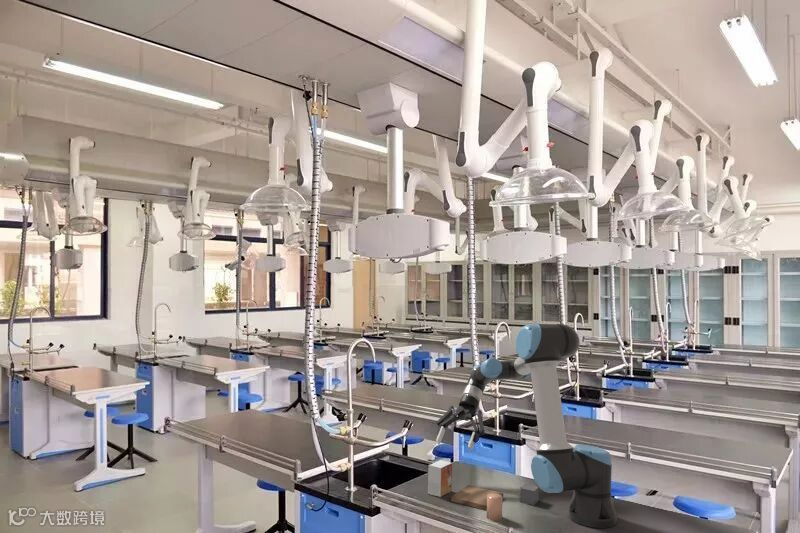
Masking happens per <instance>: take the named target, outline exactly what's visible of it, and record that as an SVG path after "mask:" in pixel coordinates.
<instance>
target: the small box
mask: <svg viewBox="0 0 800 533" xmlns="http://www.w3.org/2000/svg"><path fill="white" fill-rule="evenodd" d="M427 470H428V471H427V472H428V474H427V475H428V476H427V479H428V480H427V493H428V495H431V496H435V497H439V498H442V497H443V496H445V495H446V494H449V493H451V492H452V491H453V483H452V482H453V462H449V461H446V460H442V459H439V460H437V461H436V462H434V463H431V464H428V469H427Z"/></svg>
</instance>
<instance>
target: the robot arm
mask: <svg viewBox="0 0 800 533" xmlns="http://www.w3.org/2000/svg"><path fill="white" fill-rule="evenodd" d="M580 344H581V343H580V337H579V335H578V332H577V331H576V330H575V329H574V328H573V327H571V326H569V325H567V324H564V323H532V324H526V325H523V326H522V327H521V328H520V329H519V330H518V333H517V335H516V338H515V351H516V354H517V357H516V358H515V359H513V360H499V359H497V358H495V357H488V359H486V360H484V361H483V362H482V363H481V364H475V365H474V366H473V368H472V370H471V371H470V374H469V376H468V379H467V380H468V381H467V383H466V385H465V387H464V389H463V392H462V396H461V398H460V400H459V402H458V407H454V406H453V405H451V406H449V408H448V410H447V411H446V412H445V413H444V414H443V415H442V416H441V417H440V418H439V419H438V420H437V421H436V422H435V423H436V426H437V427H438V429H437V432H436V433H437V437H436V439H435V441H436V443H437V445H440V444H441V442H442V440H443V437H444V434H445V432H446V428H448V427H449V426H451V425H452V424H453V423H455V422H457V421H458V422H459V420H460V421H466V422H468V421H470V424H471V425H472V428H473V429H474V431H472V434H471V436H470V439H469V442H468V445H467V448H468V450H469V451H471V452H472V451H473V448H474V446H475V444H476V443H477V442H478V440H479V438H480V435H482V436H484V435H486V432H485V431H486V430H485V427H484V426H485V425H484V420H483V418H484V417H483V416H484V413H483V411H482V410H481V409H479V410H478V408H479V405H480V402H481V400H482V397H483V394H484V392H485V388H486V386H487V385H488V384H489V383H491V382H492V381H503V380H504V381H505V380H523V379H528V378H530V377H531V378H530V379H531V384H532V385H531V386H532V391H533V400H534V401H533V402H534V407H535V416H536V422H537V431H538V436H539V437H538V438H539V445H538V446H537V447H536V449H535V451H536V454H535V455H534V456H533V457H532V459H531V462H530V470H531V474H532V478H533V480H534V482H535V484H536V486H538V487H539V490H542V491H543V492H545V493H548V494H555V493H557V494H560V493H563V492H569V491H573V494H572V496H571V499H570V502H569V505H568V509H567V513H568V514H567V515H568V518H569V519H570V520H571V521H573V522H574V523H577V524H579V525H582V526H584V527H590V528H595V529H596V528H598V529H606V528H611V527H613V526H616V524H617V521H618V520H617V512H616V509H615V505H614V502H613V499H612V469H613V468H612V466H613V464H612V454H611V453H610V452H609V451H608V450H606V449H604V448H601V447H599V446H593V445H590V444H589V445H588V444H579V443H578V444H576V445H575V446H574V447H573V445H571V444H570V443H569V442H568V440H567V433H566V427H565V426H566V425H565V419H564V413H563V406H562V405H563V404H562V399H561V392H560V385H559V378H558V371H557V370H558V369H557V368H558V366H559V364H561V361H563V360H566V359H568V358H570V357H572V356H574V355H575V354H576V353H577V352H578V350H579V348H580ZM475 416H477V420H478V425H479V426H478V427H479V428H478V427H477V424H476V422H475V420H474V417H475Z"/></svg>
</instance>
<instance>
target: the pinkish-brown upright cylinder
mask: <svg viewBox="0 0 800 533" xmlns="http://www.w3.org/2000/svg"><path fill="white" fill-rule="evenodd" d="M487 518H488V520H489V519H490V520H489V521H491V520H495V521H494V522H498V521H499V520H500V521H502V520H503V498H502V496H501V495H499V494H495V493H492V494H488V495H487V510H486V519H487Z"/></svg>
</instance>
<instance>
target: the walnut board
mask: <svg viewBox="0 0 800 533" xmlns="http://www.w3.org/2000/svg"><path fill="white" fill-rule="evenodd" d="M492 493H495V494H499V495H501V496H502V499H504V492H499V491H495V490H491V489H487V488H482V487H479V486H475V485H470V484H467V485H466V486H464V487H463V488H462V489H460V490H459V491H458V492H456V493H455V494H453V495H451V497H450V502H452V503H456V504H460V505H464V506H469V507H471V508H472V507H473V508H476V509H480V510H484V511H487V495H488V494H492Z"/></svg>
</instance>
